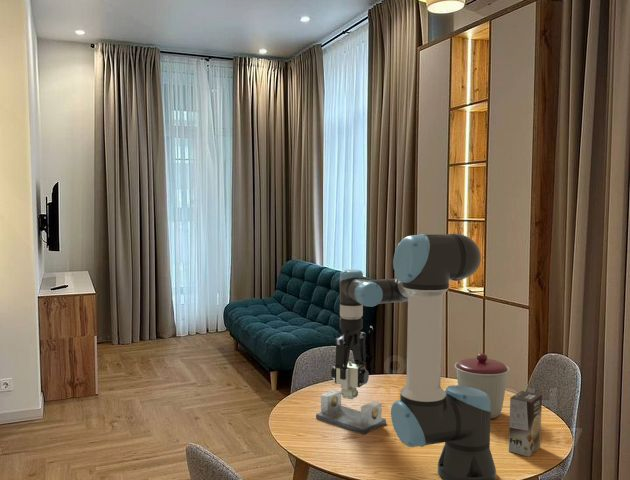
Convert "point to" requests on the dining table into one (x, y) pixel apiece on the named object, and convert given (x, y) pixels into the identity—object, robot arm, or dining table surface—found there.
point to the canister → (484, 379)
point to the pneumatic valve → (351, 379)
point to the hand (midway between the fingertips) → (350, 386)
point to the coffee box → (525, 423)
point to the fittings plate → (350, 414)
